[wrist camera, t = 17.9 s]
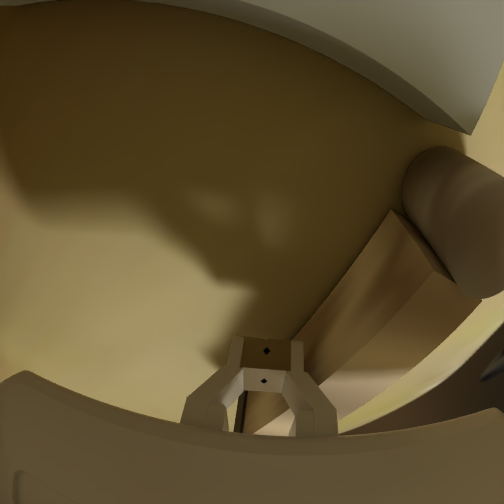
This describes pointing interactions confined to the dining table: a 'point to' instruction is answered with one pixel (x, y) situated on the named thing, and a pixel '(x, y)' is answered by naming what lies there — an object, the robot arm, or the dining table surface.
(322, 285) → the dining table surface
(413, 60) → the stool seat
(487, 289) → the hinged leg
